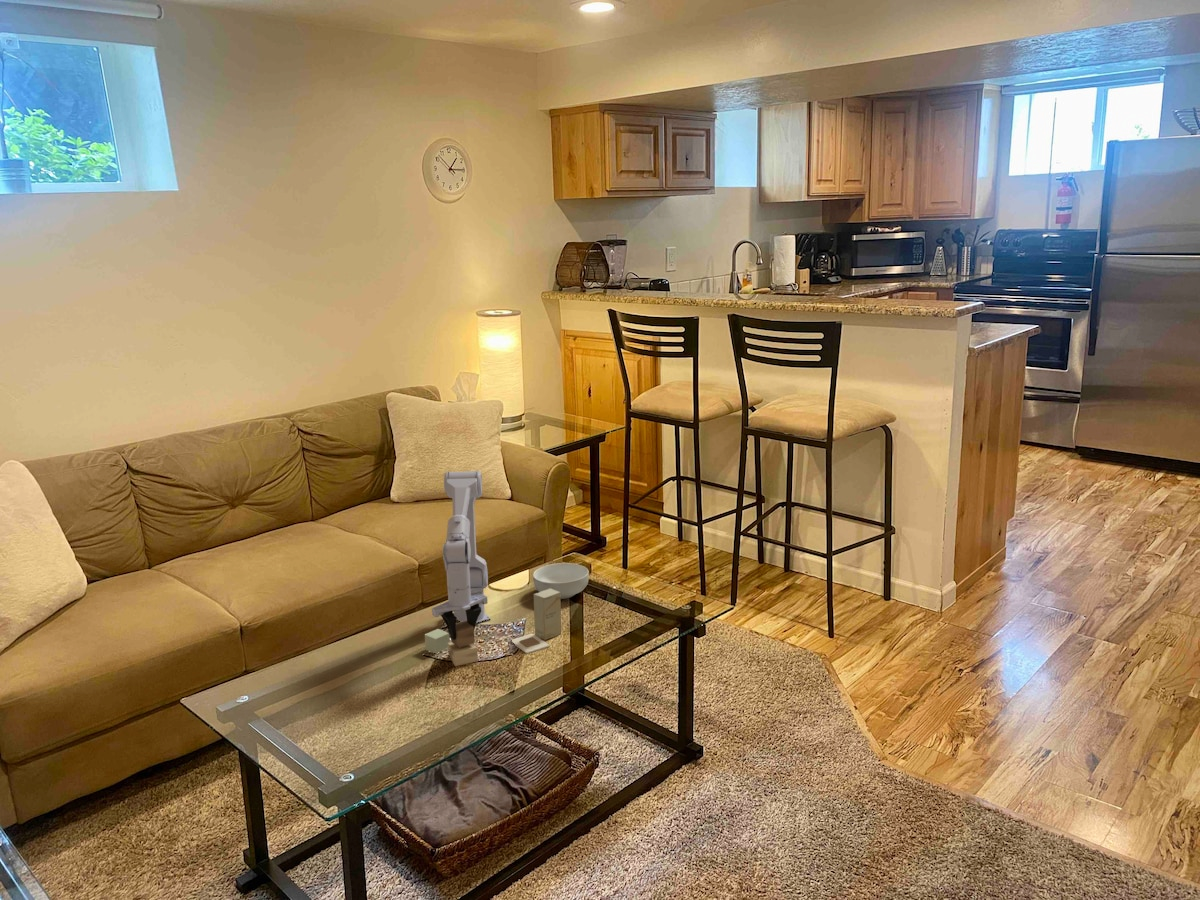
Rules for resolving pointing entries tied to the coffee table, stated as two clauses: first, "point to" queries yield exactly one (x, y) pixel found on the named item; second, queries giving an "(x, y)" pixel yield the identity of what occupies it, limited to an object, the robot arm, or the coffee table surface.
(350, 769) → the coffee table surface
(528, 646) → the card
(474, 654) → the maple base
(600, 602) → the coffee table surface
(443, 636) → the sage cube
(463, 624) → the walnut cube
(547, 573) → the cereal bowl
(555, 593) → the skincare box
